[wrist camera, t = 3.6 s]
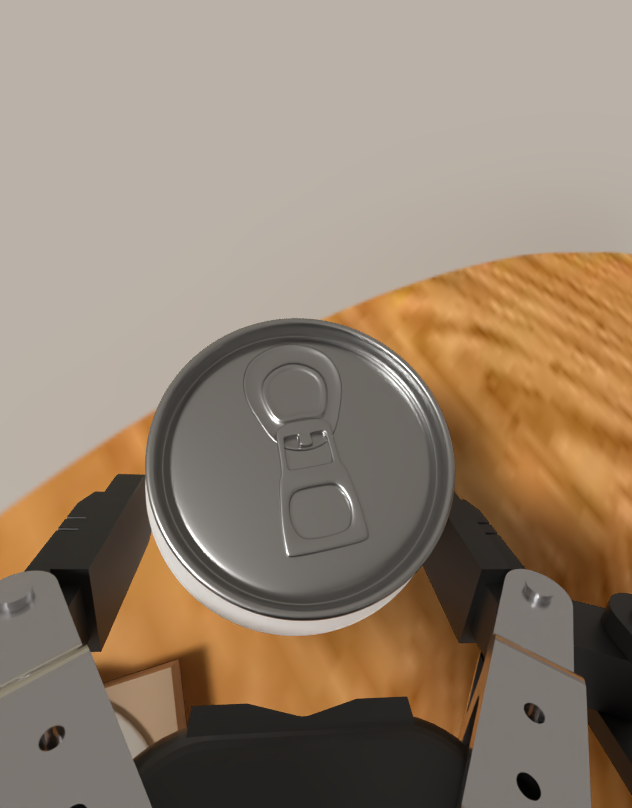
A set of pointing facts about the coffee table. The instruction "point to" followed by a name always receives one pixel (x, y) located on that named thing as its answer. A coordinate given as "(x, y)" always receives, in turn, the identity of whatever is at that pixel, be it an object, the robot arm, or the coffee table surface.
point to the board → (148, 705)
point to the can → (297, 476)
